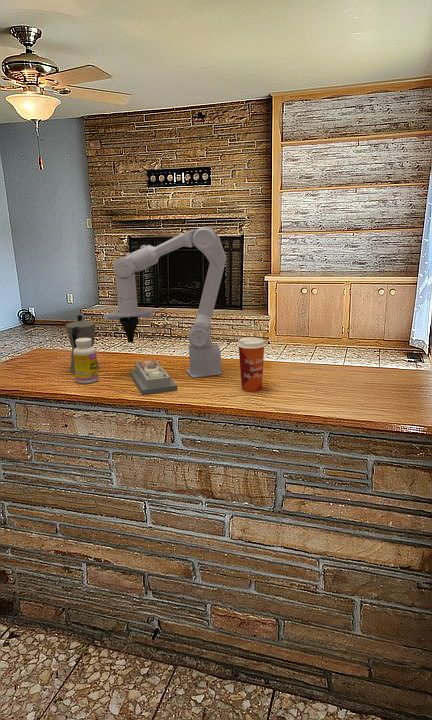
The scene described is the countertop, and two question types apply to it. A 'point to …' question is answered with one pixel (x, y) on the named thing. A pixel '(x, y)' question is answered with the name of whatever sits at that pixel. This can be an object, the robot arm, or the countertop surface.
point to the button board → (152, 381)
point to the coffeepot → (80, 334)
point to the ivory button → (151, 368)
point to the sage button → (155, 374)
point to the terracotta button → (147, 363)
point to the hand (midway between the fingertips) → (130, 341)
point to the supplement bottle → (85, 361)
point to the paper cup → (251, 363)
